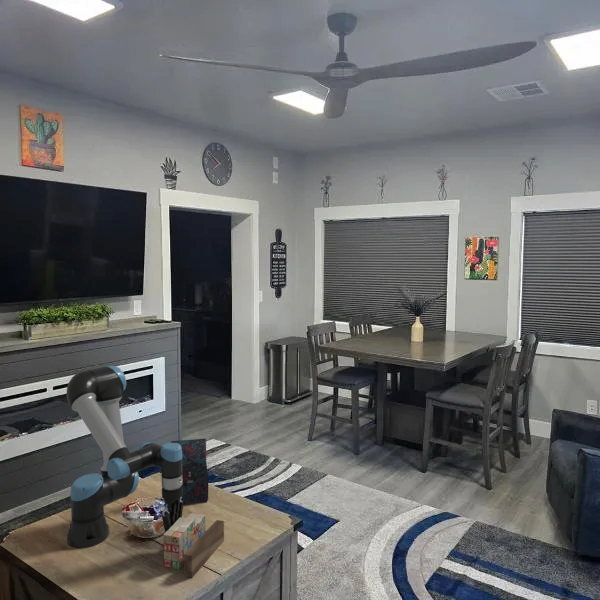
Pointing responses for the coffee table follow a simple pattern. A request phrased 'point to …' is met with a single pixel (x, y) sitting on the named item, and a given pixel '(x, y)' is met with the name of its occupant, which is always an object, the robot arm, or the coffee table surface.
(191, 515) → the stack of blocks
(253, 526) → the coffee table surface
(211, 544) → the walnut board
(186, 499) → the decorative box
